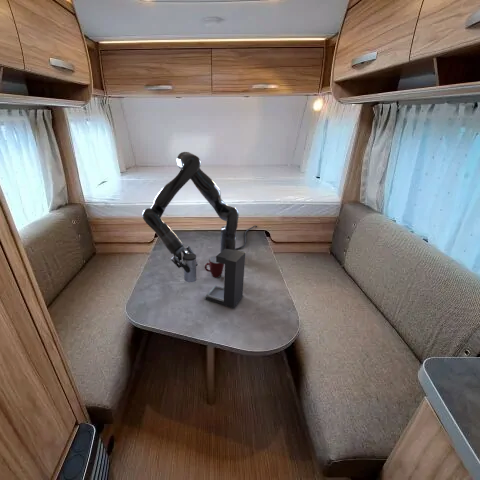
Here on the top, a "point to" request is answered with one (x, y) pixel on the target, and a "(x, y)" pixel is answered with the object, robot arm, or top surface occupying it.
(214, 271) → the mug
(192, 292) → the top surface
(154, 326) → the top surface
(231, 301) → the coffee maker
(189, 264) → the lidded canister
